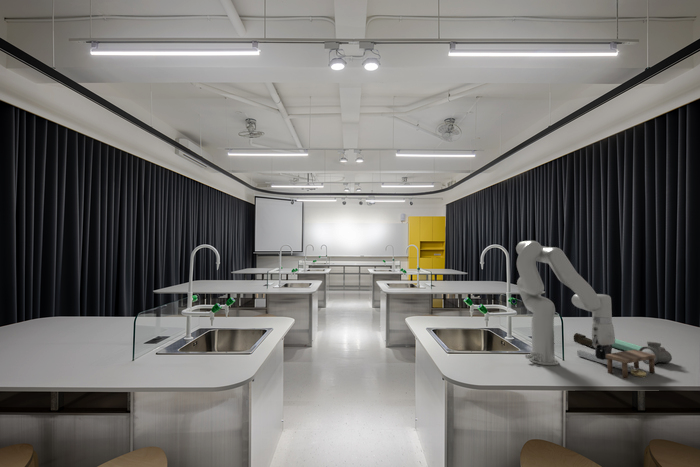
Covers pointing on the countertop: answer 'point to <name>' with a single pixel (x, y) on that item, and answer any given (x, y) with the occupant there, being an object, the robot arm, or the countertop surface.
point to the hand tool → (583, 340)
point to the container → (625, 345)
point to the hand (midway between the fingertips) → (603, 358)
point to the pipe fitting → (656, 352)
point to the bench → (630, 360)
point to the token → (638, 373)
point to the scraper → (606, 351)
